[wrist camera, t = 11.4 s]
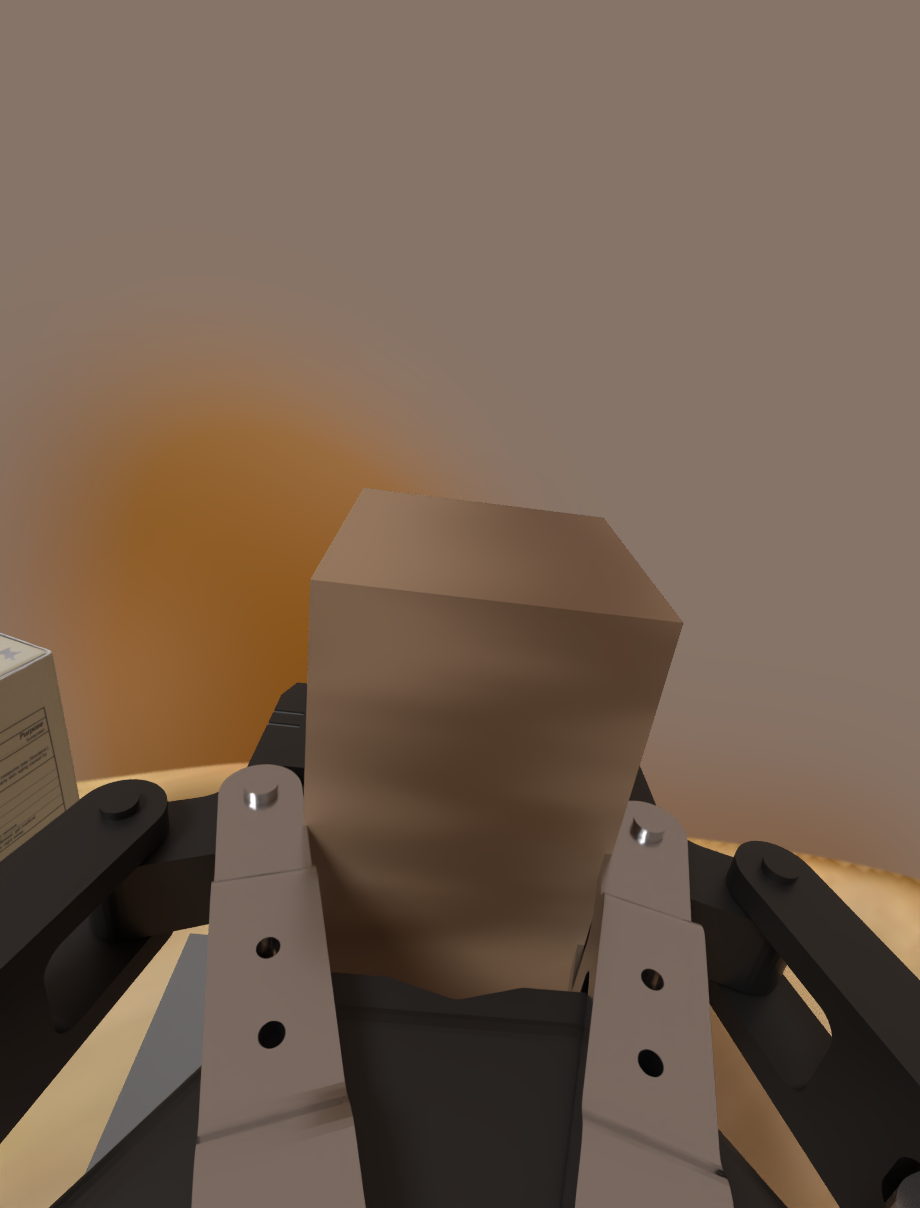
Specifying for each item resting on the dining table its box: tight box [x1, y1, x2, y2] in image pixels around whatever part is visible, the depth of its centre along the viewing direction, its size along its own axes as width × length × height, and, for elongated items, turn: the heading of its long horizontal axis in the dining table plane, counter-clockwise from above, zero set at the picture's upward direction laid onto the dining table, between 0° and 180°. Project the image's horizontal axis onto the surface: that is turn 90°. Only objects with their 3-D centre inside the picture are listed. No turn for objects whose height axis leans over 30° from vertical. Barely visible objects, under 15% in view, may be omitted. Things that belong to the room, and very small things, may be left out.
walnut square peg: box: [303, 488, 683, 999], centre depth 12 cm, size 4×4×12 cm
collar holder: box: [85, 933, 208, 1174], centre depth 17 cm, size 16×14×4 cm
